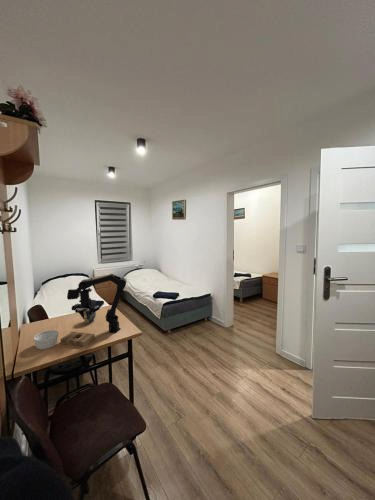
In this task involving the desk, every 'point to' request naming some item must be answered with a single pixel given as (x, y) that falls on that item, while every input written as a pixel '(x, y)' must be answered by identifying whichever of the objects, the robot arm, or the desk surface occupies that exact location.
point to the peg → (85, 316)
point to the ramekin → (46, 339)
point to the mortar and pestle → (92, 317)
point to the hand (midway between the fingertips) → (86, 319)
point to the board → (77, 338)
